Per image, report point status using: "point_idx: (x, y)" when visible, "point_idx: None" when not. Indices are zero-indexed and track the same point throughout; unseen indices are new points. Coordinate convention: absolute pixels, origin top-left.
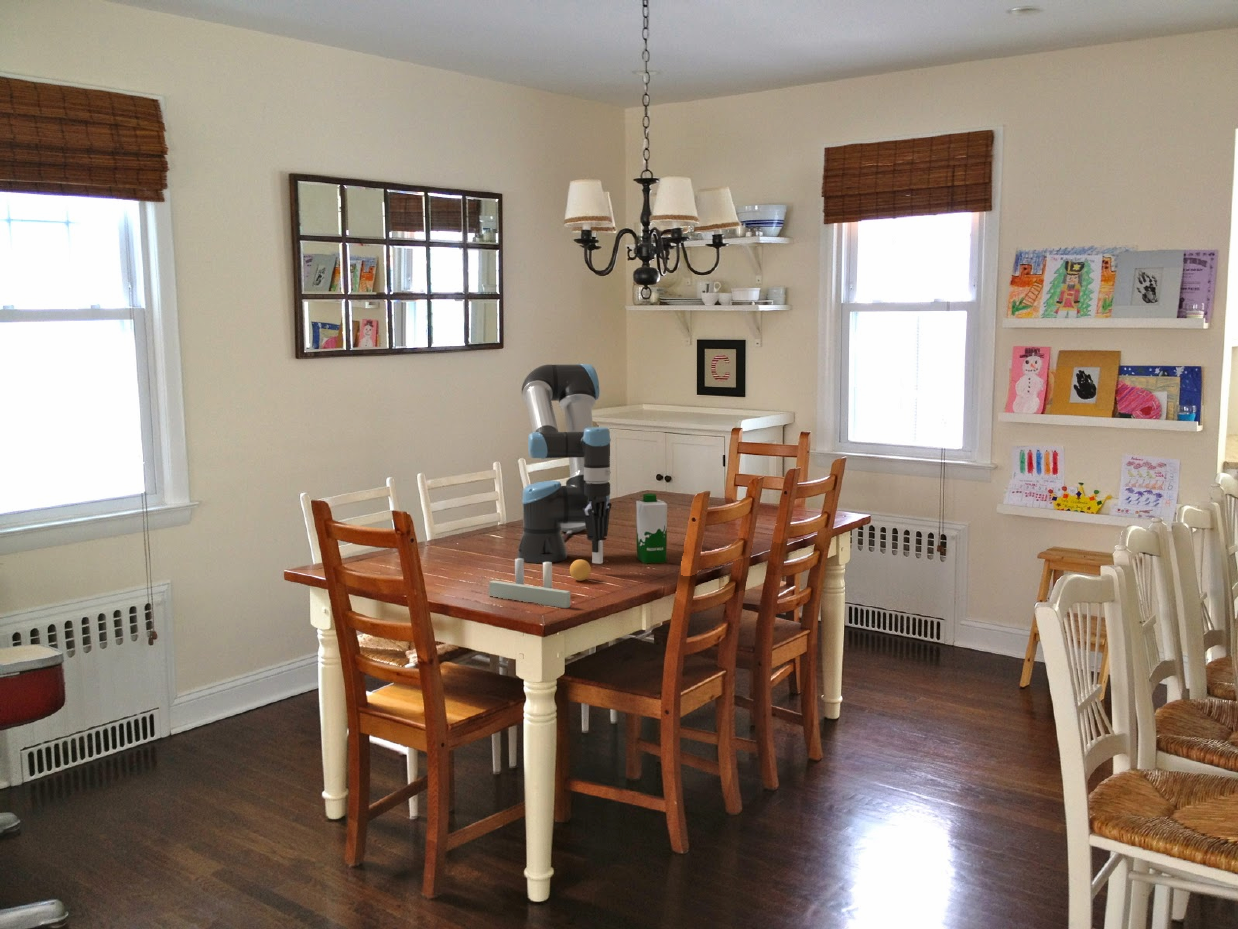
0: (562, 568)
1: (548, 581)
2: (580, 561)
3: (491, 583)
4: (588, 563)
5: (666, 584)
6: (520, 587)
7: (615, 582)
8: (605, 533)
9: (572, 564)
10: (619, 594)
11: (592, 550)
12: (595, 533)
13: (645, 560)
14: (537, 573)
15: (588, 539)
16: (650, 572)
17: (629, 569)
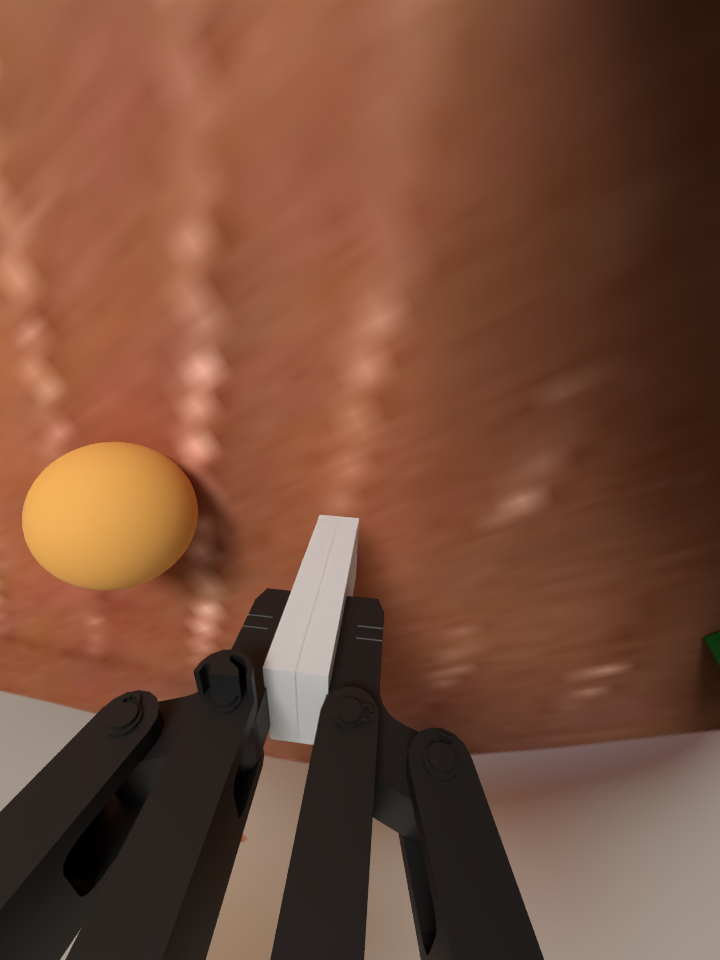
0: (397, 160)
1: None
2: (45, 568)
3: None
4: (122, 588)
5: None
6: None
7: (240, 629)
8: (401, 846)
9: (24, 503)
10: (100, 684)
11: (255, 603)
12: (104, 865)
13: (716, 660)
14: (107, 25)
15: (130, 699)
16: (493, 696)
17: (529, 610)
